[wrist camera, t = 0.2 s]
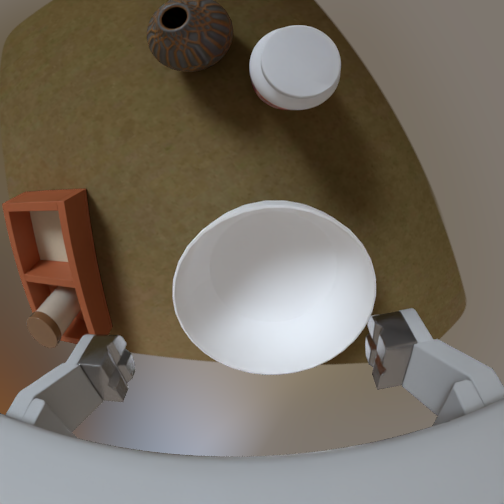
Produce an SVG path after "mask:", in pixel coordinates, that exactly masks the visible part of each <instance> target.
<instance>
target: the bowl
mask: <svg viewBox="0 0 504 504" xmlns="http://www.w3.org/2000/svg"><path fill="white" fill-rule="evenodd" d="M375 298H376V276H375V272H374V268H373V264H372V260H371V258H370V256H369V255H368V253H367V251H366V249H365V247H364V245H363V244H362V242H361V241H360V240H359V239H358V238H357V237H356V236H355V235H354V233H353V232H352V231H351V230H350V229H349V228H347V227H346V226H344V225H343V224H342V223H340V222H339V221H337V220H336V219H334V218H333V217H331V216H330V215H328V214H326V213H325V212H323V211H320V210H318V209H315V208H313V207H311V206H308V205H306V204H301V203H296V202H291V201H286V200H278V201H261V202H256V203H251V204H246V205H243V206H241V207H238V208H236V209H233V210H231V211H229V212H227V213H225V214H224V215H222V216H221V217H219V218H218V219H216V220H215V221H213V222H212V223H211V224H209V225H208V226H207V227H205V228H204V229H203V230H202V231H201V232H200V233H199V234H198V235H197V236H196V237H195V238H194V239H193V240H192V241H191V242H190V244H189V245H188V246H187V248H186V249H185V251H184V253H183V255H182V256H181V258H180V260H179V261H178V265H177V268H176V271H175V275H174V278H173V303H174V308H175V313H176V315H177V318H178V320H179V322H180V324H181V327H182V329H183V330H184V331H185V333H186V334H187V336H188V337H189V338H190V340H191V341H192V342H193V343H194V344H195V345H196V346H197V347H198V348H199V349H200V350H201V351H202V352H204V353H205V354H207V355H208V356H210V357H211V358H213V359H214V360H216V361H217V362H220V363H222V364H224V365H226V366H228V367H231V368H233V369H237V370H240V371H244V372H248V373H254V374H262V375H282V374H289V373H295V372H300V371H303V370H307V369H310V368H314V367H316V366H318V365H321V364H323V363H325V362H327V361H329V360H331V359H332V358H334V357H335V356H337V355H338V354H340V353H341V352H343V351H344V350H345V349H346V348H347V347H348V346H349V345H350V344H351V343H352V342H353V341H355V340H356V338H357V337H358V336H359V334H360V333H361V332H362V330H363V329H364V327H365V326H366V324H367V322H368V319H369V316H370V315H371V313H372V311H373V307H374V302H375Z"/></svg>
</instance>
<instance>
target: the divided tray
mask: <svg viewBox="0 0 504 504" xmlns="http://www.w3.org/2000/svg"><path fill="white" fill-rule="evenodd" d="M2 205H3V210H4V216H5V220H6V225H7V230H8V234H9V238H10V242H11V246H12V250H13V254H14V257H15V261H16V265H17V268H18V271H19V274H20V277H21V281H22V284H23V287H24V290H25V293H26V295H27V299H28V301H29V304H30V307H31V310H32V312H35V311H36V310H37V309H38V308H39V307H40V305H41V304H42V303H43V302H44V301H45V300H46V299H47V298H48V296H49V295H50V294H51V293H52V292H53V291H54V290H55V289H56V288H57V287H58V286H63V287H71V288H75V290H76V294H77V297H78V301H79V304H80V308H81V311H80V312H79V313H78V315H77V316H76V317H75V319H74V320H73V322H72V323H71V324H70V326H69V327H68V329H67V330H66V331H65V333H64V334H63V336H62V337H61V341H65V342H70V343H74V344H78V343H79V341H80V339H81V338H82V336H83V335H86V334H95V335H97V334H101V335H108V334H109V332H110V330H111V329H112V327H113V326H112V322H111V319H110V315H109V311H108V307H107V303H106V299H105V295H104V291H103V286H102V282H101V277H100V273H99V268H98V263H97V258H96V252H95V247H94V241H93V235H92V229H91V222H90V216H89V208H88V200H87V192H86V189H63V190H45V191H30V192H24V193H22V194H20V195H18V196H16V197H14V198H12V199H10V200H8V201H7V202H5V203H3V204H2Z"/></svg>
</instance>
